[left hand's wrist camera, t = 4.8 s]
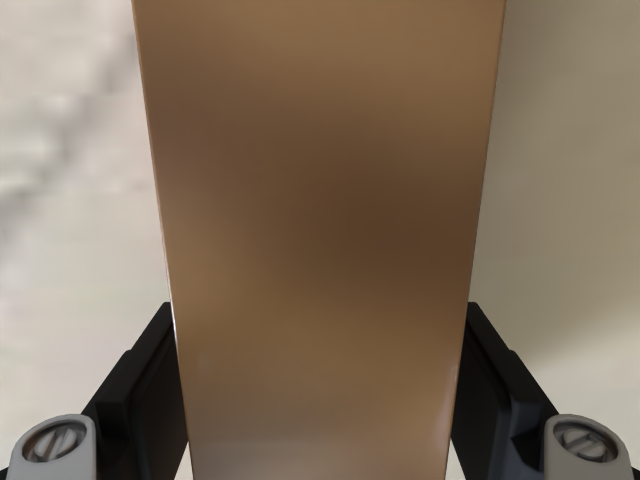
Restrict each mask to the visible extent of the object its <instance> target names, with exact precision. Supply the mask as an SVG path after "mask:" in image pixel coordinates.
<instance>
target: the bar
mask: <svg viewBox="0 0 640 480" xmlns="http://www.w3.org/2000/svg"><path fill="white" fill-rule="evenodd" d="M506 1H507V0H131V2H132V10H133V18H134V25H135V33H136V41H137V49H138V56H139V64H140V72H141V79H142V87H143V95H144V102H145V110H146V118H147V126H148V133H149V141H150V149H151V156H152V164H153V172H154V180H155V187H156V195H157V203H158V210H159V218H160V226H161V234H162V241H163V249H164V257H165V264H166V272H167V280H168V287H169V295H170V303H171V311H172V318H173V326H174V334H175V341H176V349H177V357H178V365H179V372H180V380H181V388H182V395H183V403H184V411H185V419H186V426H187V434H188V442H189V449H190V457H191V465H192V472H193V480H445V476H446V469H447V461H448V453H449V445H450V437H451V430H452V422H453V414H454V406H455V398H456V391H457V383H458V375H459V367H460V359H461V352H462V344H463V336H464V328H465V320H466V313H467V305H468V297H469V289H470V281H471V274H472V266H473V258H474V250H475V242H476V235H477V227H478V219H479V211H480V203H481V196H482V188H483V180H484V172H485V164H486V157H487V149H488V141H489V133H490V125H491V118H492V110H493V102H494V94H495V86H496V79H497V71H498V63H499V55H500V47H501V40H502V32H503V24H504V16H505V8H506Z"/></svg>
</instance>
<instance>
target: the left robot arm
mask: <svg viewBox="0 0 640 480" xmlns="http://www.w3.org/2000/svg"><path fill="white" fill-rule="evenodd" d="M451 440H452V443H453V445H454V448H455V451H456V454H457V456H458V459H459V462H460V465H461V467H462V470H463V473H464V476H465V478H466V480H640V471H639V470H637V469H635V468H633V467H631V463H630V459H629V454H628V451H627V449H626V447H625V444H624V443H623V442H622V440H621V439H620V438H619V437H618V436H617V435H616V434H615V433H614V432H612V431H611V430H610V429H609V428H607V427H606V426H604V425H602V424H600V423H598V422H596V421H595V420H592V419H589V418H586V417H583V416H579V415H574V414H559V413H558V411H557V410H556V408H555V407H554V406H553V404H552V403H551V401H550V400H549V399H548V397H547V396H546V394H545V393H544V392H543V390H542V389H541V387H540V386H539V385H538V383H537V382H536V380H535V379H534V378H533V376H532V375H531V373H530V372H529V370H528V369H527V368H526V366H525V365H524V363H523V362H522V361H521V359H520V358H519V356H518V355H517V354H516V353H515V352H514V351H513V350H509V349H508V347H507V346H506V344H505V343H504V341H503V340H502V339H501V337H500V336H499V334H498V333H497V331H496V330H495V329H494V327H493V326H492V324H491V323H490V321H489V320H488V318H487V317H486V316H485V314H484V313H483V311H482V310H481V308H480V307H479V306H478V304H477V303H476V302H468V305H467V313H466V320H465V328H464V336H463V344H462V352H461V359H460V367H459V375H458V383H457V391H456V398H455V406H454V414H453V422H452V430H451ZM187 443H188V434H187V426H186V419H185V411H184V403H183V395H182V388H181V380H180V372H179V365H178V357H177V349H176V341H175V334H174V326H173V318H172V311H171V303H170V302H164V303H163V304H162V306H161V307H160V308H159V310H158V311H157V313H156V314H155V316H154V317H153V318H152V320H151V321H150V323H149V324H148V326H147V327H146V329H145V330H144V331H143V333H142V334H141V336H140V337H139V339H138V340H137V341H136V343H135V344H134V346H133V347H132V349H131V350H127V351H126V352H125V353H124V354H123V355H122V356H121V358H120V359H119V361H118V362H117V363H116V365H115V366H114V368H113V369H112V370H111V372H110V373H109V375H108V376H107V378H106V379H105V380H104V382H103V383H102V385H101V386H100V387H99V389H98V390H97V392H96V393H95V394H94V396H93V397H92V399H91V400H90V401H89V403H88V404H87V406H86V407H85V408H84V410H83V411H82V413H81V414H66V415H61V416H57V417H54V418H51V419H48V420H45V421H44V422H42V423H40V424H38V425H36V426H34V427H33V428H31V429H30V430H29V431H28V432H26V433H25V434H24V435H23V436H22V437H21V438H20V439H19V440H18V442H17V443H16V444H15V447H14V449H13V451H12V454H11V459H10V463H9V467H7V468H5V469H3V470H1V471H0V480H174V478H175V476H176V473H177V470H178V467H179V465H180V462H181V459H182V456H183V454H184V451H185V448H186V445H187Z"/></svg>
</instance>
